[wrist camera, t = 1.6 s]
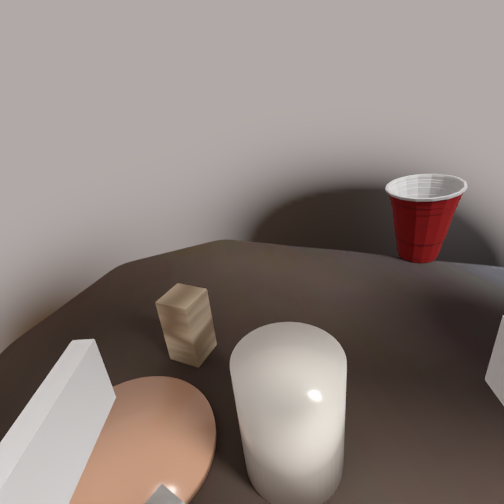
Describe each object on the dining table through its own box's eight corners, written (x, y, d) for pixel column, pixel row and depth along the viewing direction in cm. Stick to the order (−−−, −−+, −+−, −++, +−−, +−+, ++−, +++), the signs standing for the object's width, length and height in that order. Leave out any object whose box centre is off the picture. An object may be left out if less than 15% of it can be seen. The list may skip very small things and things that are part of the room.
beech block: (216, 344, 43) (206, 288, 39) (198, 367, 40) (185, 309, 36) (189, 337, 44) (177, 283, 41) (170, 358, 41) (155, 302, 38)
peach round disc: (251, 443, 31) (250, 436, 30) (79, 611, 22) (74, 604, 22) (161, 361, 41) (160, 355, 40) (18, 454, 32) (14, 447, 32)
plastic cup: (368, 246, 61) (372, 178, 56) (425, 236, 62) (435, 169, 57) (403, 277, 52) (412, 199, 46) (470, 265, 53) (486, 187, 47)
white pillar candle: (362, 454, 29) (370, 353, 24) (301, 537, 24) (294, 433, 19) (288, 401, 34) (282, 309, 29) (226, 460, 30) (206, 363, 25)
